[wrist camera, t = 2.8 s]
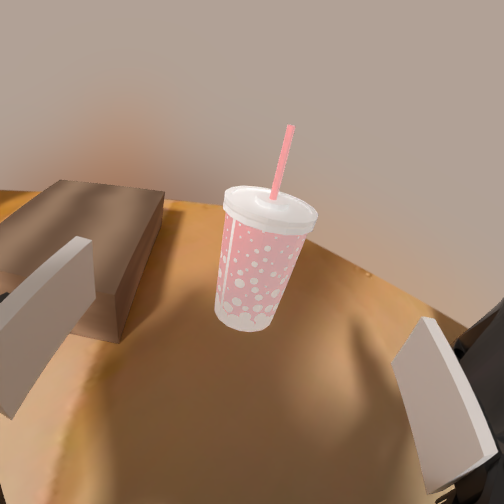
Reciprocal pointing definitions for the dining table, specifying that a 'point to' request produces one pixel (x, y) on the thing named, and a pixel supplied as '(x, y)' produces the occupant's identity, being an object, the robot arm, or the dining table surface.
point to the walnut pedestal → (103, 243)
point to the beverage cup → (259, 249)
